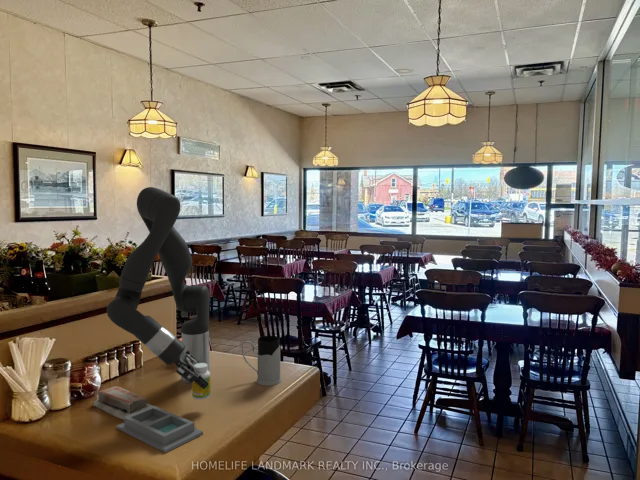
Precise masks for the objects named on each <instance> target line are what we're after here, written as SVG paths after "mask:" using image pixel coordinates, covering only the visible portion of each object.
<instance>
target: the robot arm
mask: <svg viewBox="0 0 640 480" xmlns="http://www.w3.org/2000/svg"><path fill="white" fill-rule="evenodd" d="M136 208H137V212H138V213H139V214H138V215H139V216H140V217H141V219H142V221H143V223H144V225H145V226H146V228H147V230H148V231H149V234H148V235H147V236H146V238H145V239H144V240H143V241H142V242H141V243H140V244H139V245H138V246H136V248H135V249H134V250H133V251H132V252H131V253H130V254H129V256H128V257H127V259H126V261H125V264H124V266H123V268H122V271H121V274H120V277H119V280H118V284H119V286H118V289H117V291H116V295H115V296H114V299H112V300H111V301H110V303H109V304H108V306H107V308H106V314H107V317H108V318H109V320H110V321H111V322H112V323H113V324H115V325H116V326H117V327H119V328H121V329H122V330H124V331H126V332H127V333H129V334H131V335H133V336H134V337H135V338H136V339H137V340H139V341H140V342H141V343H142V344H143V345H144V346H146V348H147V349H148V350H149V351H150V352H151V353H152V354H153V355H155V357H157V358H158V359H159V360H160V361H161V362H163V363H164V365H166V366H170V365H172V364H174V365H175V367H176V368H177V369H176V371H175V373H177V374H178V375H179V376H181V377H180V378H181V379H182V381H183V382H184V383H185V384H190V385H192V382H194V381H195V382H196V383H197V384H198V385H199V386H200V387H201V388H203V389H205V388H206V387H207V386H208V384H209V383H208V382H207V381H206V380H205V379H204V378H203V377H201V376H200V375H199V374H198V373H197V371H196V368H195V366H194V365H195V364H198V363H206V364H207V365H208V371H209V372H210V373H211V371H210V369H211V368H210V365H211V364H210V362H211V361H210V354H209V346H210V332H209V331H210V328H209V326H210V290H209V288H208V286H206V285H187V284H186V283H185V279H186V277H187V276H188V274H189V272H190V270H191V268H192V266H193V265H192V264H193V257H192V254H191V252H190V251H191V250H190V248H189V246H188V243H187V242H186V240H185V239H184V238H183V236H182V235H181V234H180V233H179V231H178V230H177V229H176V228H175V227H174V225H175V223H176V221H177V220H178V217H179V215H180V212H181V201H180V199H179V198H178V197H177V196H176V195H174V194H172V193H170V192H167V191H164V190H163V189H161V188H158V187H153V186H147V187H145V188H143V189H142V190H140V192H139V193H138V195H137V199H136ZM157 255H158V258H159V259H160V262H161V265H162V267H163V269H164V271H165V274H166V276H167V279H168V281H169V284H170V287H171V291H172V295H173V299H174V302H175V305H176V308H177V309H178V311H180V312H183V313H196V317H195V318H192V319H189V320H187V321H185V322H183V323H182V324H181V330H180V331H181V338H182V342H181V341H180V340H179V339H180V338H178V337H176V336H175V335H174V334H173V333H172V332H171V331H170V330H168V329H167V328H166V327H163V326H162V325H161V324H160V323H159V322H158V321H156V319H154V318H153V317H152V316H150V315H144V314H143V313H142V312H140V311H139V310H138V307H139V303H140V301H141V296H142V293H143V288H145V284H146V282H147V279H148V277H149V275H150V271H151V268H152V266H153V263H154V261H155V259H156V257H157ZM193 372H194V373H193Z"/></svg>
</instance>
